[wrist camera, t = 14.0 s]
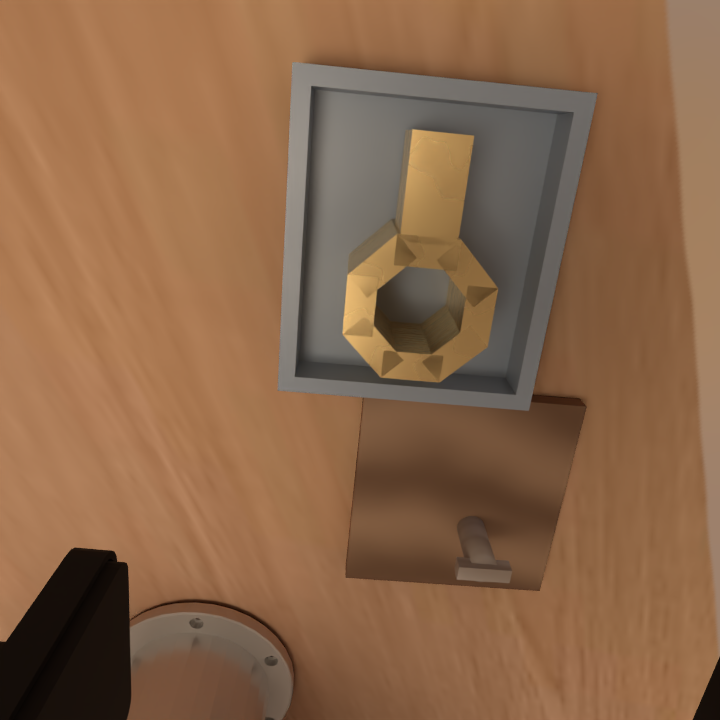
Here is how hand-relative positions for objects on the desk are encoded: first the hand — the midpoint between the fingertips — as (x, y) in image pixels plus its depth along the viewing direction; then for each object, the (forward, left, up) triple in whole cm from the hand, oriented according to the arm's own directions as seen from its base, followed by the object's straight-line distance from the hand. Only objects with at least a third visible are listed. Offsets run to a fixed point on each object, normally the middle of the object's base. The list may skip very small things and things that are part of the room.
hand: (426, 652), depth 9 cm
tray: (+3, -2, -23) cm, 23 cm away
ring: (+2, -2, -22) cm, 22 cm away
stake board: (-11, -6, -23) cm, 26 cm away
